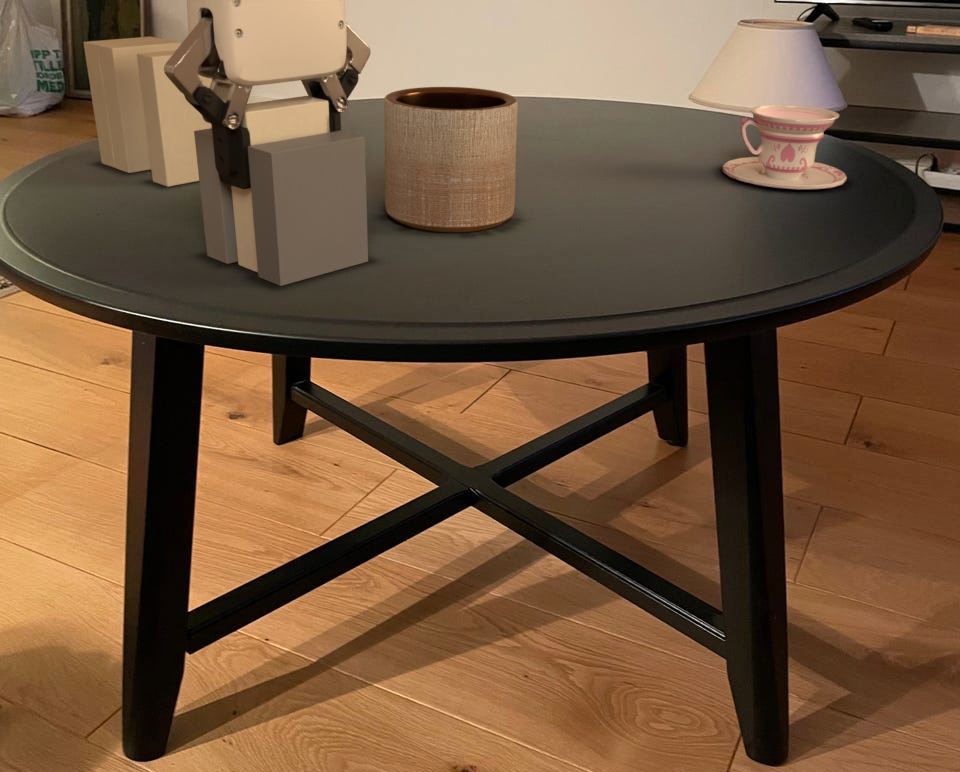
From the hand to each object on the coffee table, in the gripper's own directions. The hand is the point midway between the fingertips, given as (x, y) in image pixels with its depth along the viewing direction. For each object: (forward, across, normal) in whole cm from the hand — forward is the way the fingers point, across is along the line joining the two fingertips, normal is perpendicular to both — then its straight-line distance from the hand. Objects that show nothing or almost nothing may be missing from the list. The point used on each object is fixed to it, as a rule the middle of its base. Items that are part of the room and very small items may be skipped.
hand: (282, 174), depth 73 cm
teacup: (+6, -52, +12) cm, 54 cm away
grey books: (+6, 0, 0) cm, 6 cm away
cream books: (+6, -8, -29) cm, 31 cm away
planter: (+6, -17, 0) cm, 18 cm away
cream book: (+6, 0, 0) cm, 6 cm away
